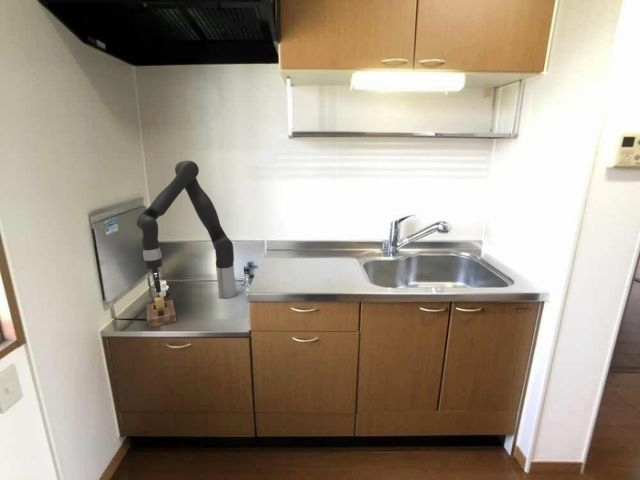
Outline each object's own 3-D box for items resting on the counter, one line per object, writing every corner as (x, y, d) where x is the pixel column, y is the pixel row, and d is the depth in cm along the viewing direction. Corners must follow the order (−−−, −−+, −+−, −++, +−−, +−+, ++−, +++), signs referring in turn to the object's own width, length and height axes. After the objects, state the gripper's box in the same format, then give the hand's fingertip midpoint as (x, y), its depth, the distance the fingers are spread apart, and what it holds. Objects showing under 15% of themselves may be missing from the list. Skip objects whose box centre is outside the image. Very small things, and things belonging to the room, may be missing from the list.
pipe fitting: (161, 292, 197) (159, 279, 195) (172, 294, 195) (170, 280, 193) (153, 297, 191) (151, 283, 189) (164, 298, 189) (162, 285, 187)
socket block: (173, 306, 180) (172, 299, 179) (176, 322, 164) (175, 314, 163) (147, 311, 175) (146, 304, 174) (148, 328, 159) (147, 320, 158)
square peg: (165, 311, 176) (163, 296, 173) (165, 314, 172) (163, 299, 170) (156, 312, 174) (154, 298, 172) (157, 316, 170) (154, 301, 168)
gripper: (162, 260, 160) (167, 292, 165) (160, 252, 173) (165, 282, 177) (144, 263, 157) (150, 296, 162) (143, 254, 169) (149, 285, 174)
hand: (158, 289), depth 169 cm, fingers open, 8 cm apart
